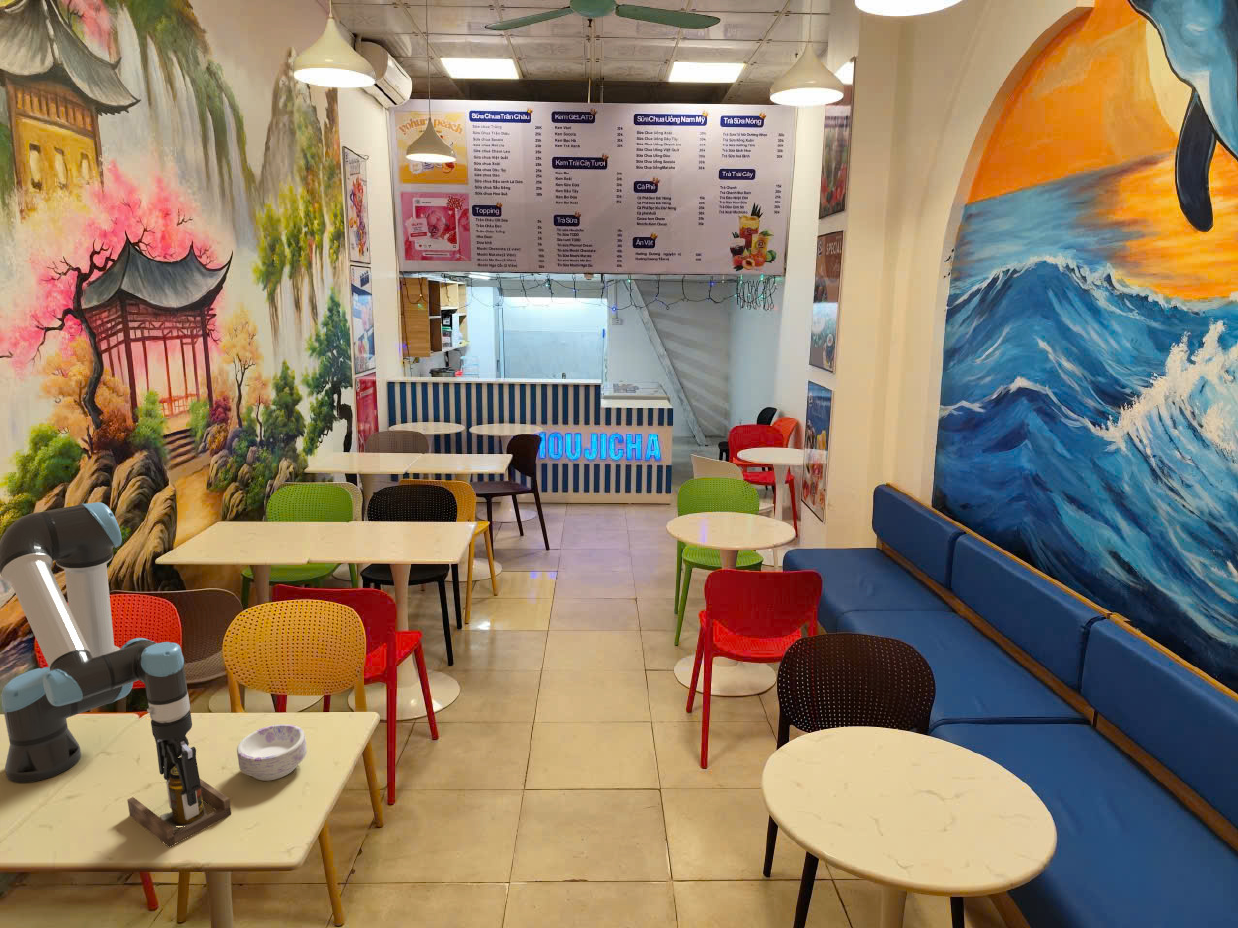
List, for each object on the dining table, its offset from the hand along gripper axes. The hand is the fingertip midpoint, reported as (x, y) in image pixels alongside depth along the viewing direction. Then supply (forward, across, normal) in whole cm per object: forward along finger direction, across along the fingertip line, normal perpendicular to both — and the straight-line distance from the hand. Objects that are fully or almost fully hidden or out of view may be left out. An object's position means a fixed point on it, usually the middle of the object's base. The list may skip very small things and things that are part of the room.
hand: (184, 810), depth 179 cm
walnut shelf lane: (+2, -2, 0) cm, 3 cm away
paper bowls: (+2, -1, +22) cm, 22 cm away
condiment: (+2, 0, 0) cm, 2 cm away
